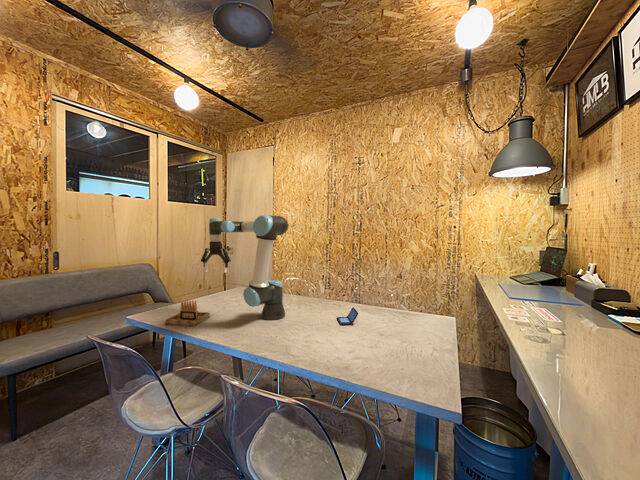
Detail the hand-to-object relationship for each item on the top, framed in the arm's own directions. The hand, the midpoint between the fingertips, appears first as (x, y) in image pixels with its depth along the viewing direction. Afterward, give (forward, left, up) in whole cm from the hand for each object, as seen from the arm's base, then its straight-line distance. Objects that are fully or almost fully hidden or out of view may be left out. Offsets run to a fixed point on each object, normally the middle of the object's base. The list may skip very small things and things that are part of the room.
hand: (215, 272), depth 176 cm
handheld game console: (-90, +8, -27) cm, 94 cm away
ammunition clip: (+6, +21, -26) cm, 34 cm away
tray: (+6, +21, -26) cm, 34 cm away
